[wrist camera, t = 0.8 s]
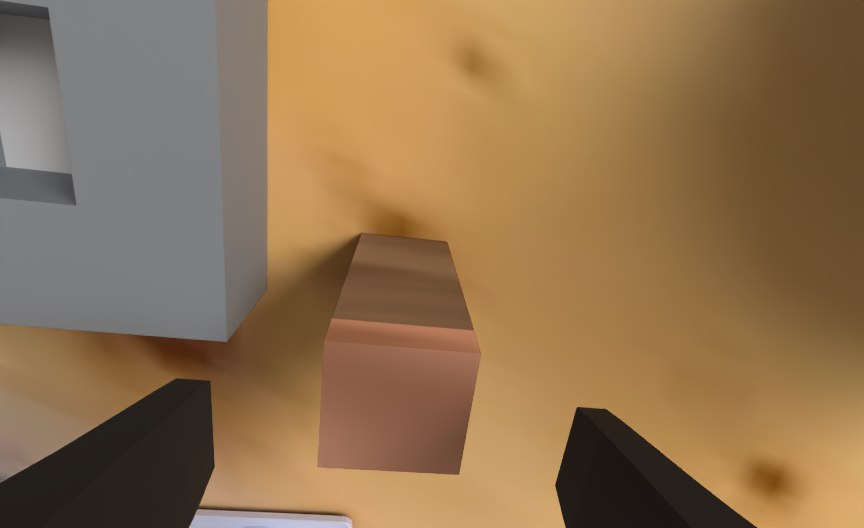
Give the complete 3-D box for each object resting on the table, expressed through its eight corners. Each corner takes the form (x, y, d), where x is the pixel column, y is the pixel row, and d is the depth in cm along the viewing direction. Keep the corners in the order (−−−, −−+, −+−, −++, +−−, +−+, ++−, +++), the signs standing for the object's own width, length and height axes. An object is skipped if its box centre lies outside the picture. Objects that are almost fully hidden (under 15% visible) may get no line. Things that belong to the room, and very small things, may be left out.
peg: (436, 318, 18) (458, 474, 10) (355, 311, 17) (317, 467, 10) (447, 241, 17) (480, 353, 9) (361, 232, 16) (323, 341, 9)
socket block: (266, 289, 17) (226, 342, 13) (-79, 258, 16) (-231, 306, 12) (267, -88, 13) (210, -167, 9) (-193, -165, 12) (-472, -290, 8)
